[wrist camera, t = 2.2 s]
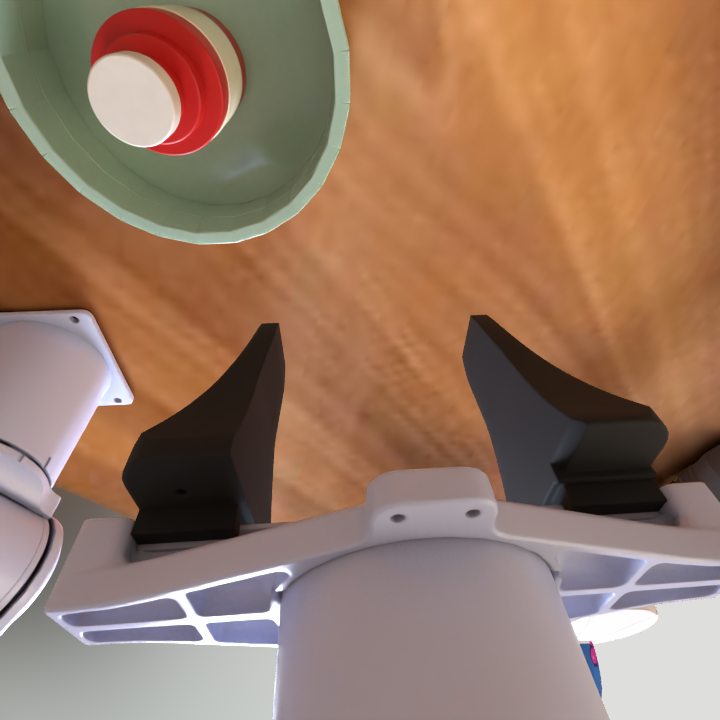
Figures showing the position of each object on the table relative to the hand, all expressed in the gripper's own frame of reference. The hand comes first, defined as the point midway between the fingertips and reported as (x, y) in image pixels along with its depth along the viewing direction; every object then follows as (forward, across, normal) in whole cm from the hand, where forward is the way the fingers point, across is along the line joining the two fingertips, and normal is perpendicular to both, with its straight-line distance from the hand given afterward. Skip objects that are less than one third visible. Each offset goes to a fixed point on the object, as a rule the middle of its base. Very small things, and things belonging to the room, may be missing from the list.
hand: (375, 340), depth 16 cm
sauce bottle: (+10, +7, -8) cm, 14 cm away
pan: (+10, +7, -8) cm, 14 cm away
